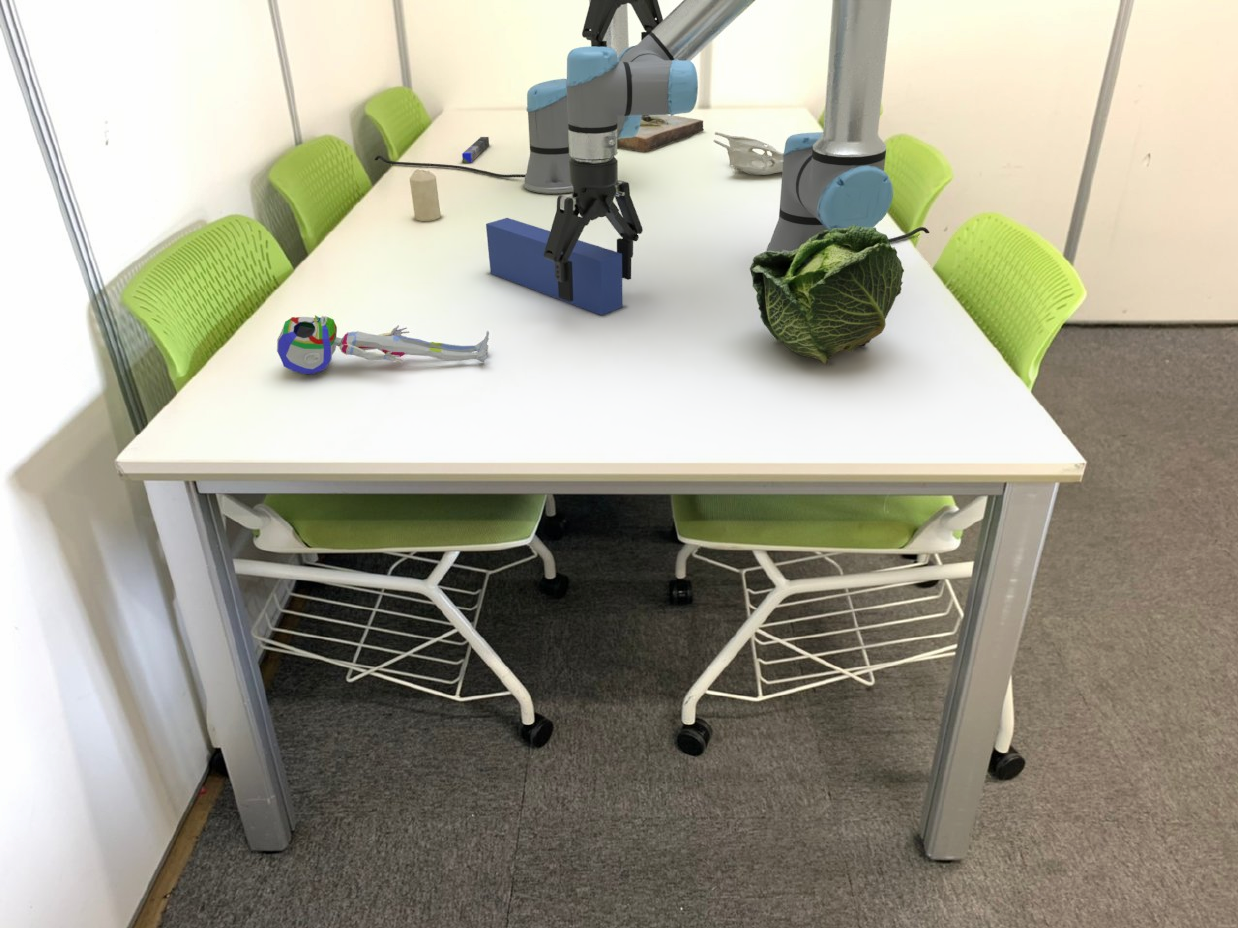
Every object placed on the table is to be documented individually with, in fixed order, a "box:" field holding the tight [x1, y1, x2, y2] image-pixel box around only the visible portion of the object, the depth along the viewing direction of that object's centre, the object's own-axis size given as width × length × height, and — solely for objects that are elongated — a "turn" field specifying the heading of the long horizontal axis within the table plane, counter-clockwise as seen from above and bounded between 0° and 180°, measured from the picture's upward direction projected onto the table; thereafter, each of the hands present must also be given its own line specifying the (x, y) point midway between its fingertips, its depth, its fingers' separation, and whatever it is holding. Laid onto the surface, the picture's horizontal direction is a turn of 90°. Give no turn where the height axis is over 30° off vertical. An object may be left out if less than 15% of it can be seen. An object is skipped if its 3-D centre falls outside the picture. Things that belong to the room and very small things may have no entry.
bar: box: [485, 217, 624, 316], centre depth 156 cm, size 29×5×9 cm, turn 46°
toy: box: [276, 314, 490, 375], centre depth 132 cm, size 10×8×30 cm
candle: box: [409, 169, 441, 222], centre depth 192 cm, size 6×6×10 cm
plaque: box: [617, 115, 705, 152], centre depth 257 cm, size 30×7×30 cm
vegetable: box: [749, 225, 905, 365], centre depth 131 cm, size 20×19×20 cm
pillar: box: [461, 136, 490, 164], centre depth 243 cm, size 2×2×20 cm
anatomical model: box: [713, 131, 784, 176], centre depth 220 cm, size 15×9×25 cm
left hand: (624, 74), depth 169 cm, fingers open, 13 cm apart
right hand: (595, 288), depth 150 cm, fingers open, 13 cm apart
